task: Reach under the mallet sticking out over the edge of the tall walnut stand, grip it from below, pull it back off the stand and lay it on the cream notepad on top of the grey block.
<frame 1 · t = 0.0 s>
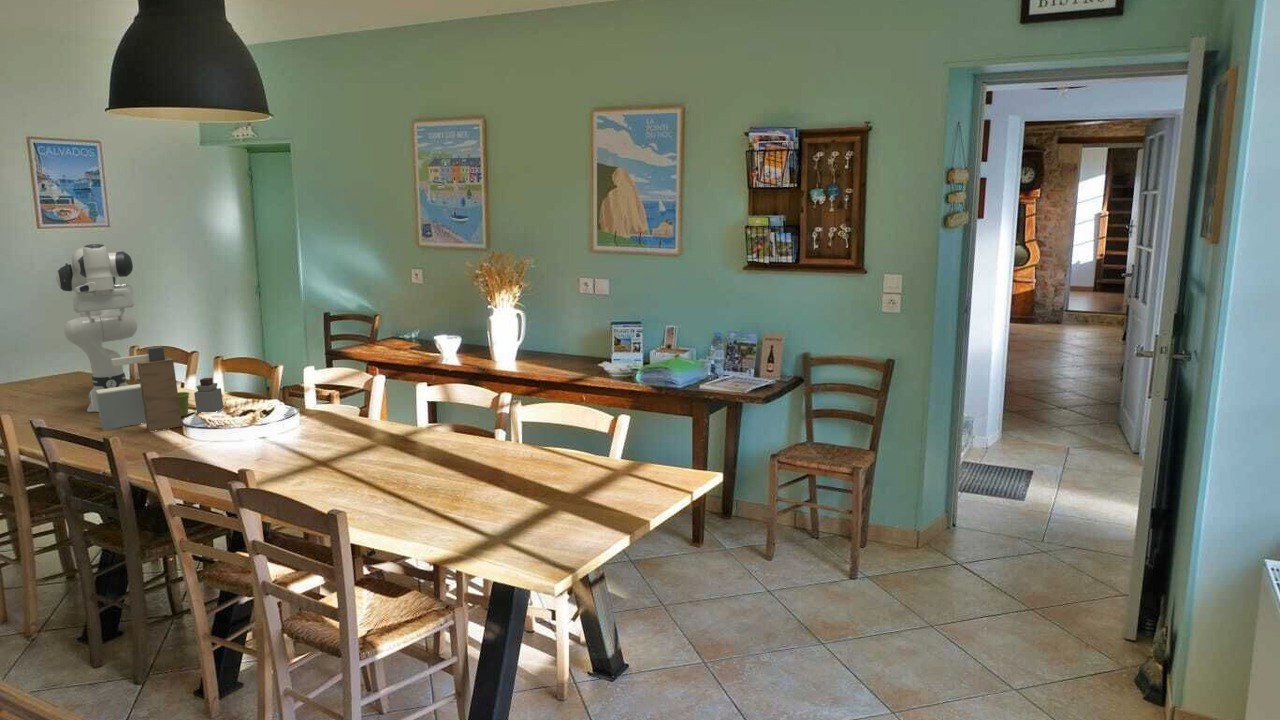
hand: (106, 321, 358), 39 cm above the table, tool pointing down, fingers open, 8 cm apart
notepad block: (125, 424, 356), on the table
mallet: (130, 363, 340), point 26 cm above the table, touching walnut stand
plant pot: (179, 416, 367), on the table
perfume bottle: (212, 425, 351), on the table
walnut stand: (164, 427, 350), on the table
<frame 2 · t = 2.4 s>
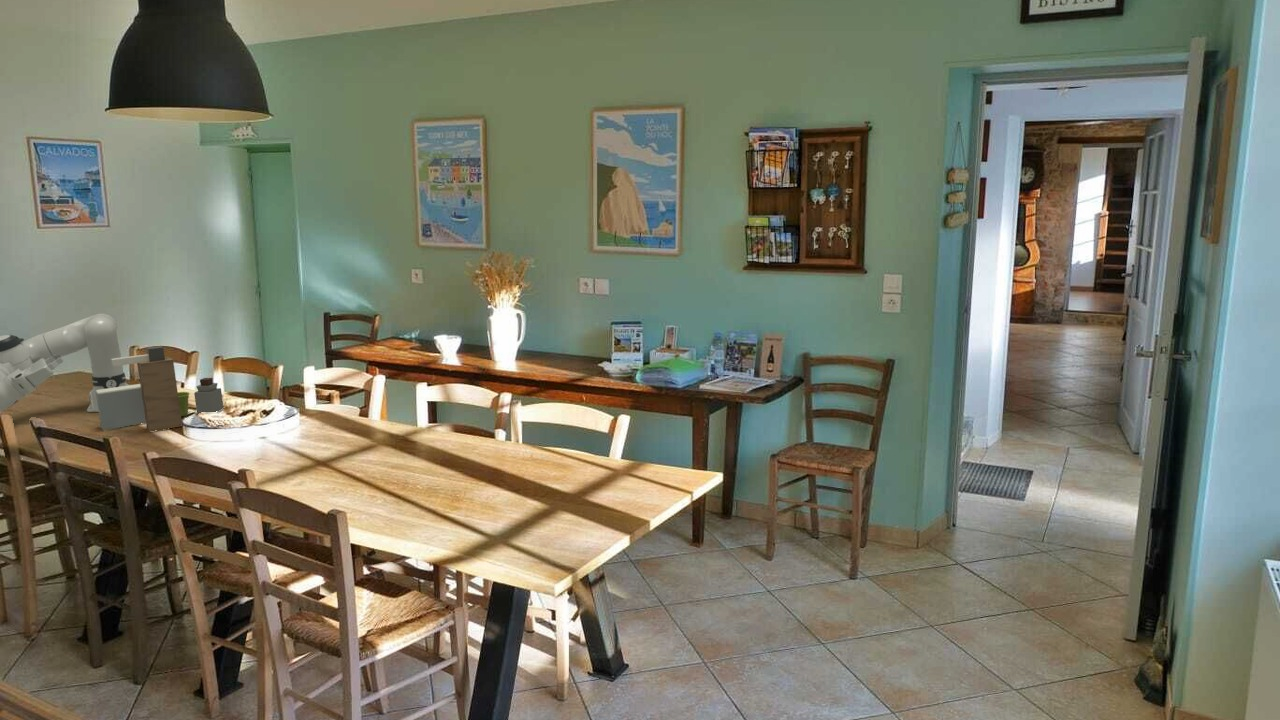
hand: (60, 357, 327), 31 cm above the table, tool pointing upward, fingers open, 8 cm apart
nothing on the table moved.
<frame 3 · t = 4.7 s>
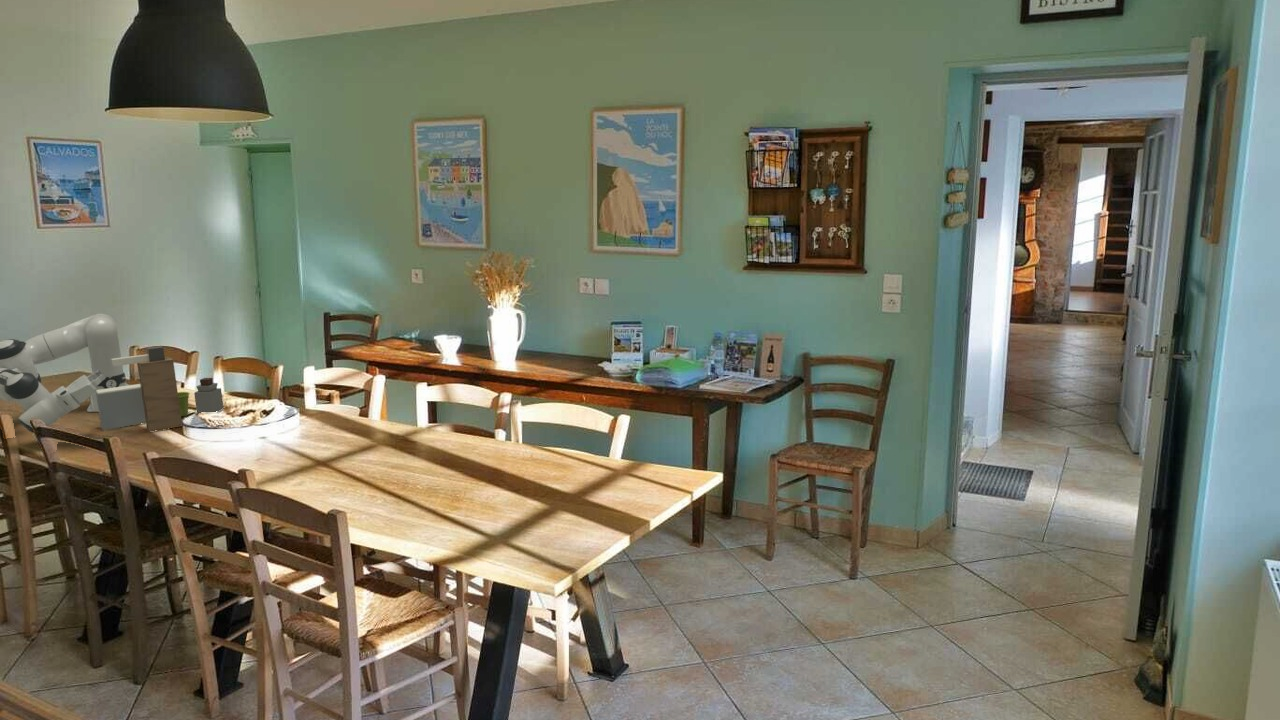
hand: (102, 373, 335), 24 cm above the table, tool pointing upward, fingers open, 8 cm apart
nothing on the table moved.
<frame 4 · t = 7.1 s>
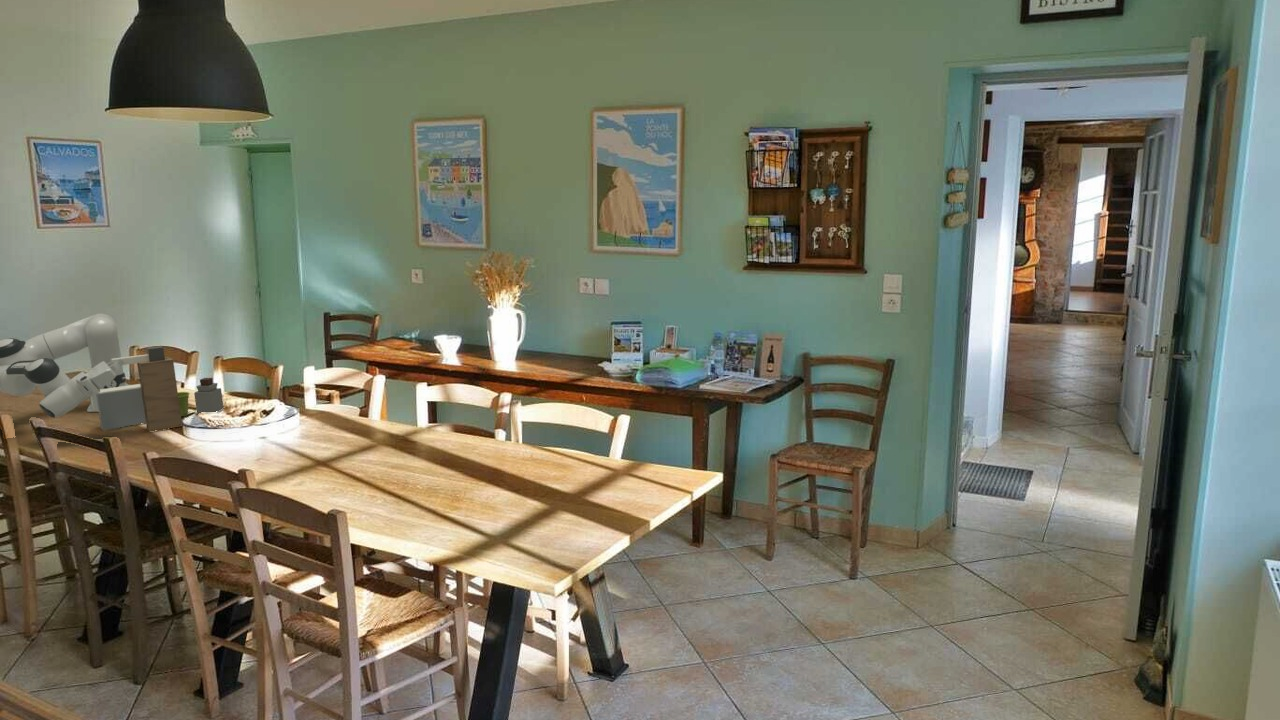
hand: (121, 360, 338), 28 cm above the table, tool pointing upward, fingers closed on mallet, 2 cm apart
mallet: (130, 363, 340), point 26 cm above the table, touching gripper, walnut stand
everything else where it was.
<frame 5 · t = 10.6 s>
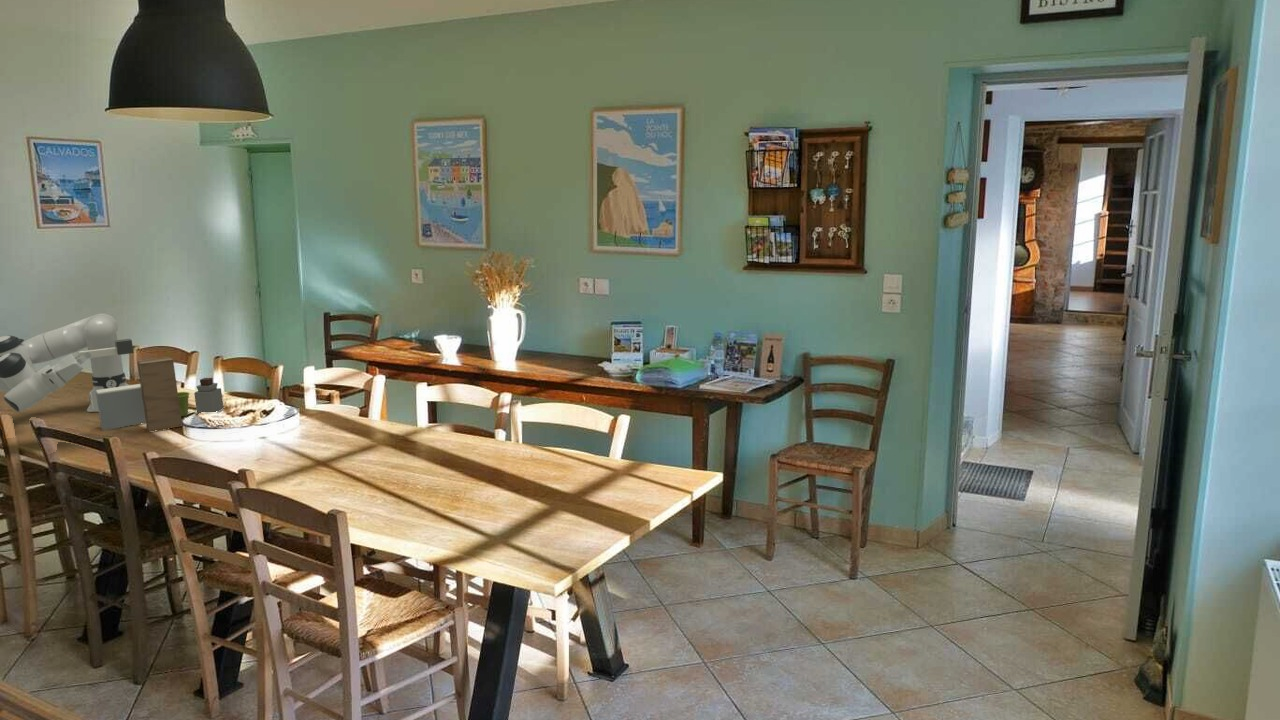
hand: (89, 353, 332), 32 cm above the table, tool pointing upward, fingers closed on mallet, 2 cm apart
mallet: (98, 356, 334), point 30 cm above the table, touching gripper
everything else where it was.
when the fingers open (19 cm above the table, at t = 14.4 s): mallet drops 3 cm, resting on notepad block.
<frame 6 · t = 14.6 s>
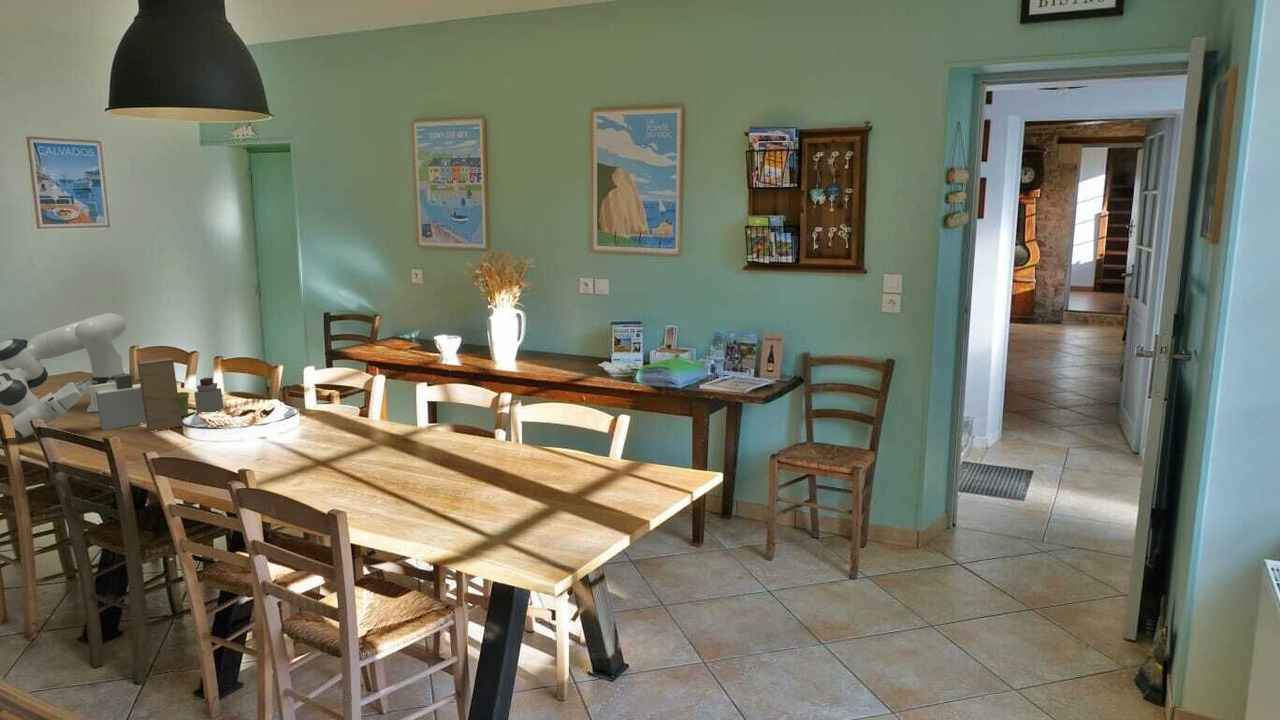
hand: (89, 380, 347), 19 cm above the table, tool pointing upward, fingers open, 5 cm apart
mallet: (98, 391, 349), point 14 cm above the table, touching notepad block
everything else where it was.
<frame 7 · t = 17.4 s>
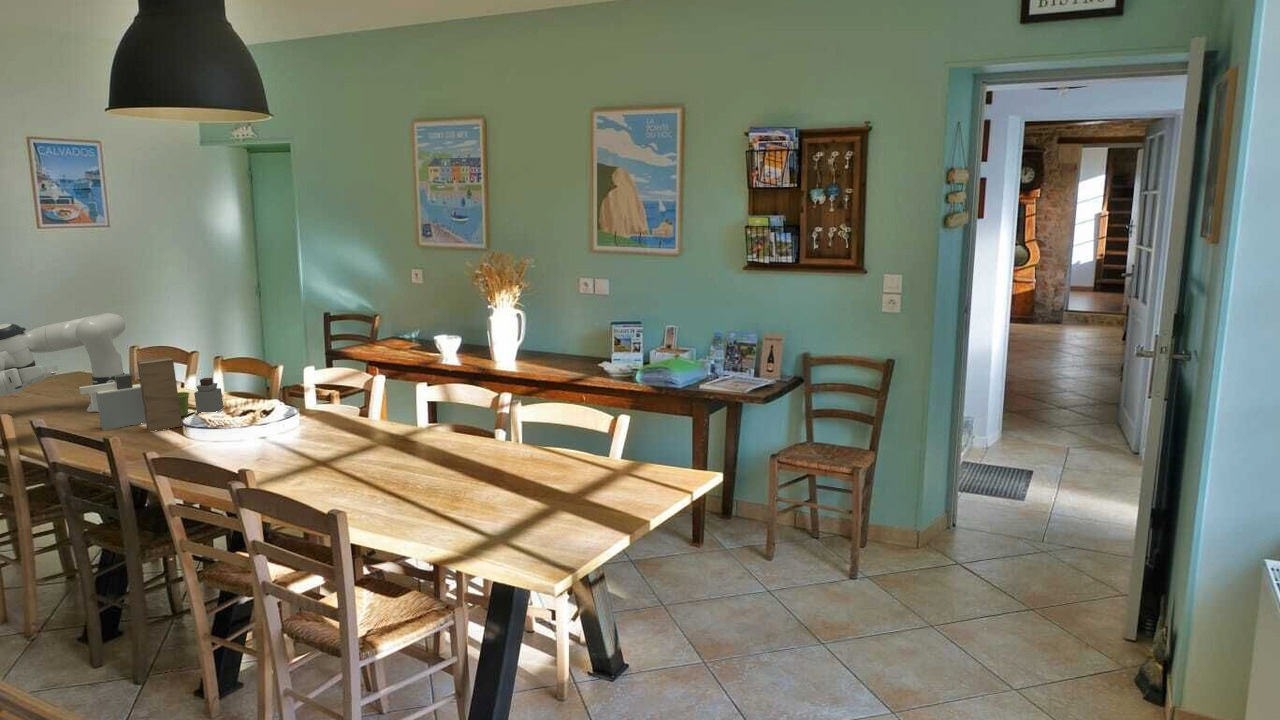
hand: (56, 369, 340), 25 cm above the table, tool horizontal, fingers open, 8 cm apart
nothing on the table moved.
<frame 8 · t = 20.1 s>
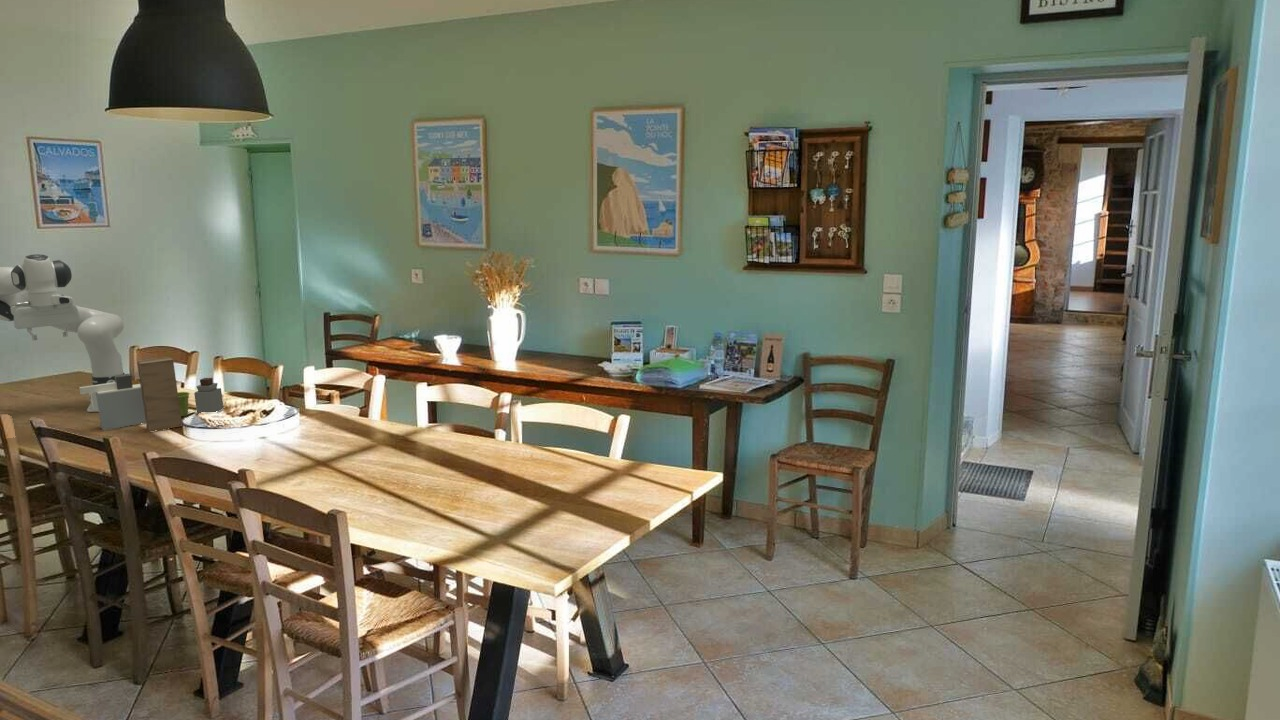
hand: (50, 338, 334), 37 cm above the table, tool pointing down, fingers open, 8 cm apart
nothing on the table moved.
at the end: mallet inside the target area on the notepad block (0.7 cm from its centre), point 14.5 cm above the notepad block's base; mallet touching notepad block; the gripper is holding nothing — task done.
